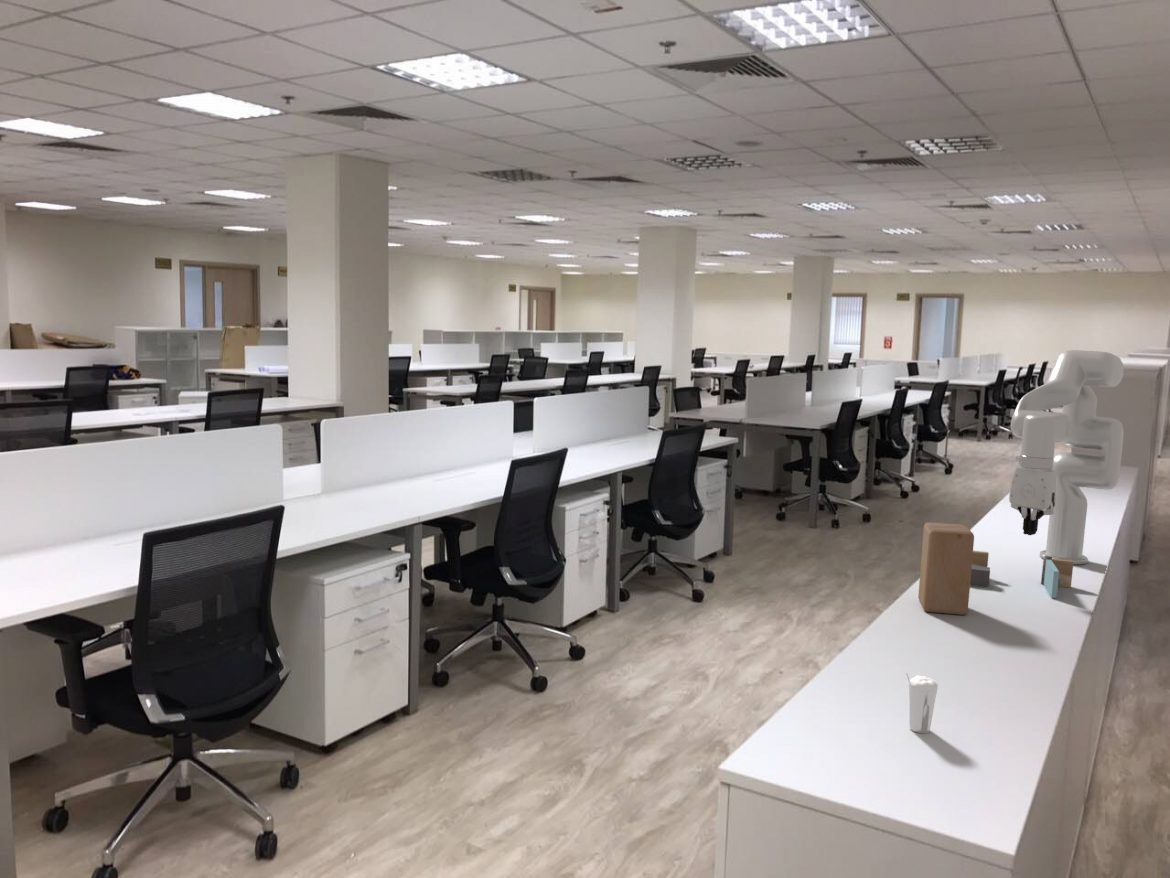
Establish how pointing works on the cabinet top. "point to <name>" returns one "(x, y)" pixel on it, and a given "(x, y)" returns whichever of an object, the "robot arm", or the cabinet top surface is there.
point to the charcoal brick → (980, 576)
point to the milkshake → (921, 702)
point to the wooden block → (946, 568)
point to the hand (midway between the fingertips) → (1029, 533)
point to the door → (1052, 578)
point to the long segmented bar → (1062, 565)
